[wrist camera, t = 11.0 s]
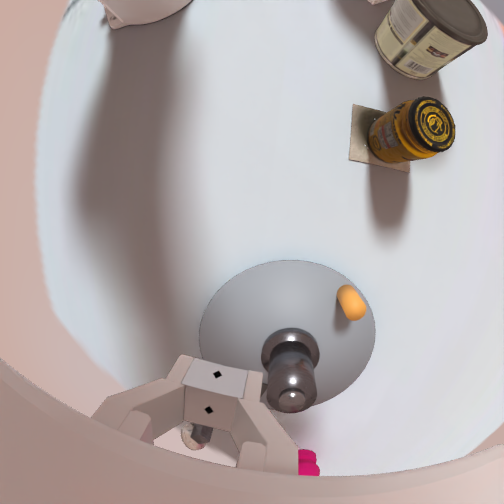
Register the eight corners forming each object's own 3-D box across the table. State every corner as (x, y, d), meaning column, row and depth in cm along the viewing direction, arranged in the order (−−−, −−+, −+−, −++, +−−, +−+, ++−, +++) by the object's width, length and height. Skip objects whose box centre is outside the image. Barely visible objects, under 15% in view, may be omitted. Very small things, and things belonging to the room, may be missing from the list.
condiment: (408, 172, 30) (462, 169, 18) (348, 159, 30) (384, 145, 19) (411, 120, 28) (461, 97, 16) (352, 104, 29) (385, 68, 17)
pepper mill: (316, 445, 42) (321, 531, 22) (320, 461, 43) (325, 539, 24) (279, 450, 43) (274, 535, 23) (286, 466, 44) (283, 543, 25)
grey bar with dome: (195, 396, 41) (177, 439, 31) (208, 390, 40) (192, 435, 30) (211, 411, 41) (197, 455, 31) (224, 407, 41) (213, 452, 31)
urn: (250, 343, 35) (240, 393, 25) (301, 317, 33) (308, 364, 24) (279, 381, 36) (278, 432, 26) (327, 358, 34) (339, 408, 25)
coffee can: (416, 23, 24) (456, -21, 10) (445, 78, 25) (501, 47, 12) (361, 23, 25) (390, -35, 12) (392, 82, 27) (443, 39, 13)
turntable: (166, 319, 36) (150, 339, 31) (319, 220, 31) (327, 227, 26) (263, 424, 39) (260, 449, 34) (396, 358, 34) (409, 381, 29)
